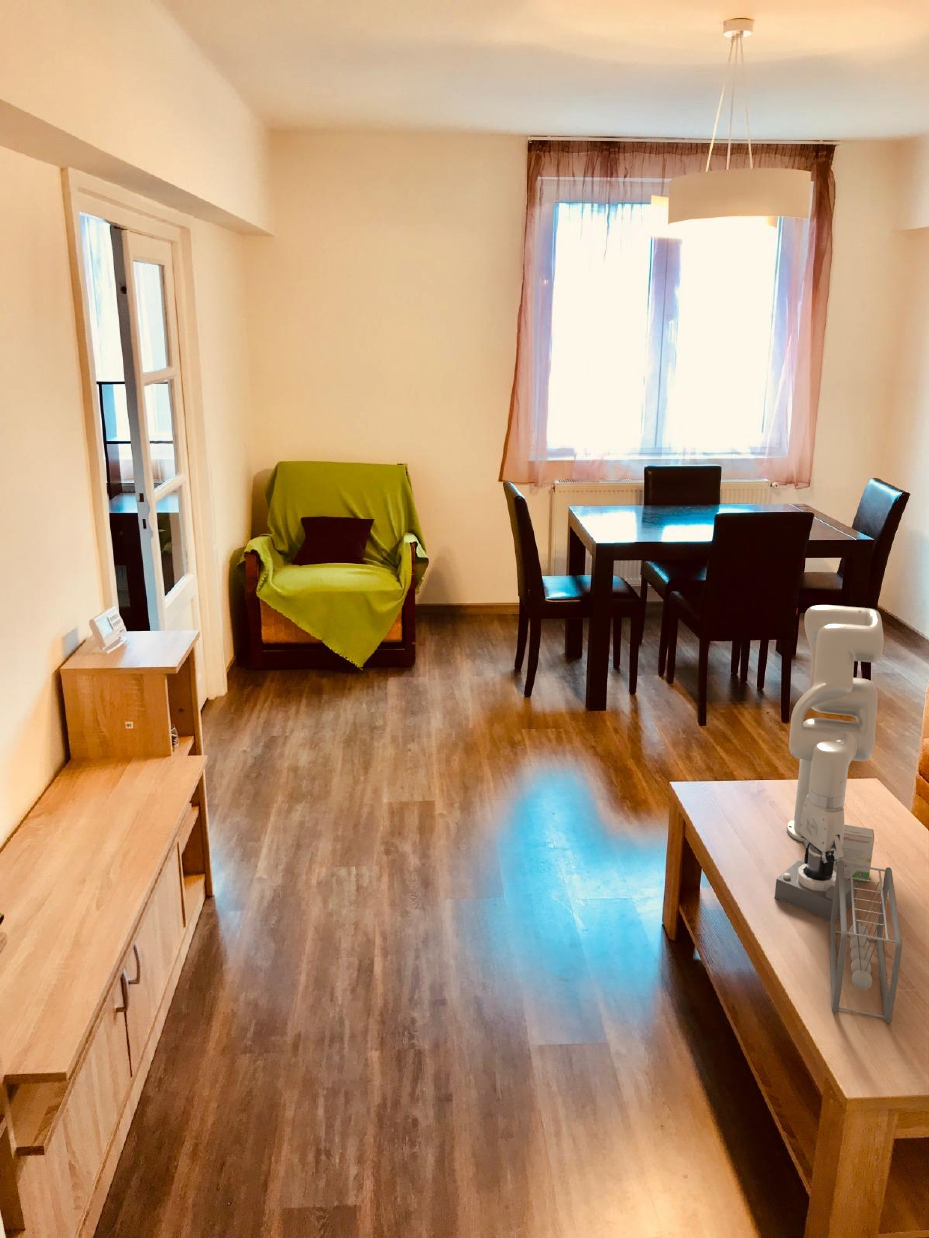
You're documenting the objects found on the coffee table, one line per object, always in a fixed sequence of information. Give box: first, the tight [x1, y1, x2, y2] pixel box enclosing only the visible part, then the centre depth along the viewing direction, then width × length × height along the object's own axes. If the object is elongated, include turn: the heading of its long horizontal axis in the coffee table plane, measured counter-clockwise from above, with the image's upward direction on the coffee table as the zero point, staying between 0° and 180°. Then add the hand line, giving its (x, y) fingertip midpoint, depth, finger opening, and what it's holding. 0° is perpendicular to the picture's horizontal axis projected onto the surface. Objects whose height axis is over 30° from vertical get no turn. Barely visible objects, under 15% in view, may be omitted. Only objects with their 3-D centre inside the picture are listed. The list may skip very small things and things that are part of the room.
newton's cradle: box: [829, 860, 903, 1024], centre depth 194 cm, size 30×10×18 cm, turn 161°
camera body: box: [774, 860, 858, 922], centre depth 221 cm, size 11×14×7 cm
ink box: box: [833, 824, 875, 883], centre depth 230 cm, size 9×5×12 cm, turn 71°
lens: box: [806, 843, 831, 881], centre depth 219 cm, size 5×5×8 cm
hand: (818, 868), depth 219 cm, fingers closed on lens, 4 cm apart
